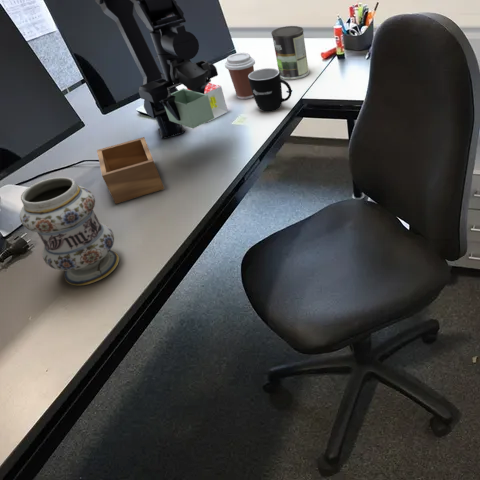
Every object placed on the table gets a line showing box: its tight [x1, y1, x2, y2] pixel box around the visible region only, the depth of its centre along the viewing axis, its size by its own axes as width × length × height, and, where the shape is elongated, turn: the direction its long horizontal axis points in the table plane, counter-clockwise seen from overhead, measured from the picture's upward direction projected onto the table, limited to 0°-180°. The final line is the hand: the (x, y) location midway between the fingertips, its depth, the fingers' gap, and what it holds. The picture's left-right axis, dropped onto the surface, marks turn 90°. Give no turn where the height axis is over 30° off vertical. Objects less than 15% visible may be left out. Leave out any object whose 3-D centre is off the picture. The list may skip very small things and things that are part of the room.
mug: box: [248, 67, 292, 113], centre depth 141 cm, size 12×9×10 cm
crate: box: [96, 136, 165, 205], centre depth 114 cm, size 14×11×8 cm
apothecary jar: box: [19, 176, 120, 286], centre depth 87 cm, size 12×12×18 cm
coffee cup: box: [224, 52, 256, 100], centre depth 150 cm, size 9×9×12 cm
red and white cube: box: [188, 82, 229, 123], centre depth 142 cm, size 8×8×8 cm
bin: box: [165, 87, 214, 129], centre depth 119 cm, size 10×7×6 cm
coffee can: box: [270, 25, 310, 80], centre depth 160 cm, size 10×10×14 cm
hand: (190, 114), depth 120 cm, fingers closed on bin, 6 cm apart
